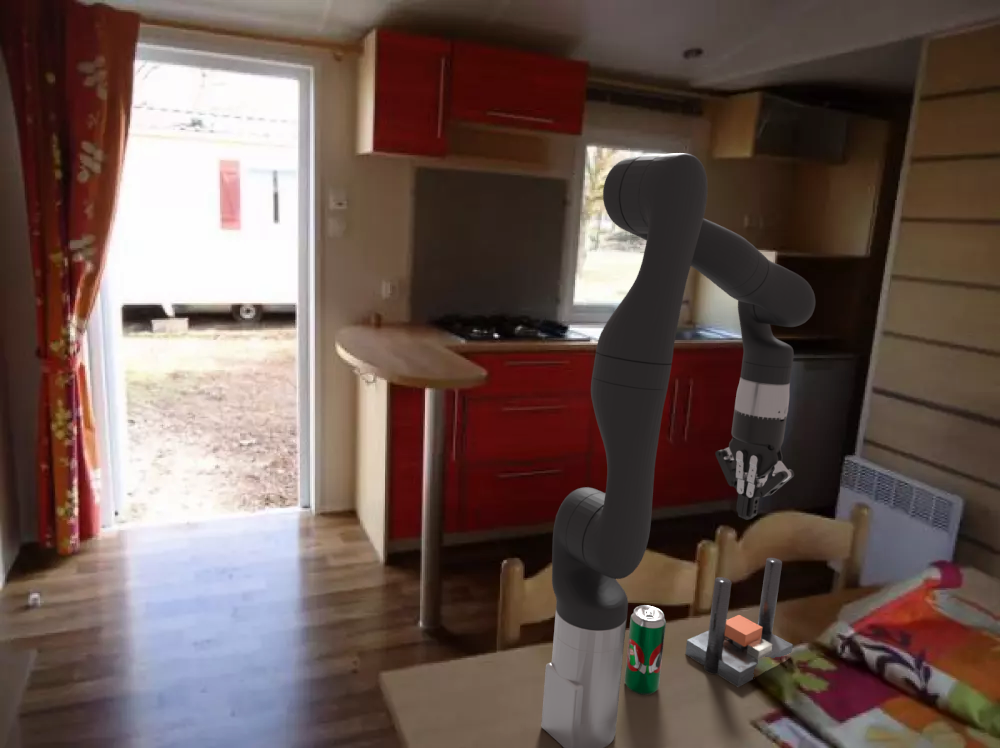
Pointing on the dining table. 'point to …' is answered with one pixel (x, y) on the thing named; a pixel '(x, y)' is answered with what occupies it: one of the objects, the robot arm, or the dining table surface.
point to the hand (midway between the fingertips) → (746, 517)
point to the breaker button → (742, 631)
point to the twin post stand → (720, 649)
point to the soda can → (645, 650)
